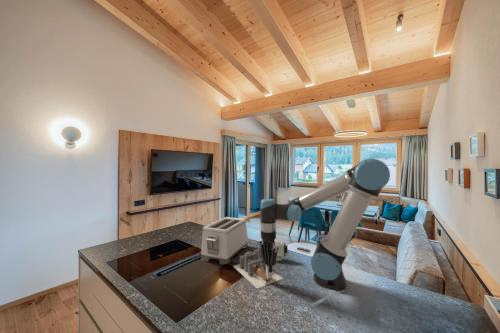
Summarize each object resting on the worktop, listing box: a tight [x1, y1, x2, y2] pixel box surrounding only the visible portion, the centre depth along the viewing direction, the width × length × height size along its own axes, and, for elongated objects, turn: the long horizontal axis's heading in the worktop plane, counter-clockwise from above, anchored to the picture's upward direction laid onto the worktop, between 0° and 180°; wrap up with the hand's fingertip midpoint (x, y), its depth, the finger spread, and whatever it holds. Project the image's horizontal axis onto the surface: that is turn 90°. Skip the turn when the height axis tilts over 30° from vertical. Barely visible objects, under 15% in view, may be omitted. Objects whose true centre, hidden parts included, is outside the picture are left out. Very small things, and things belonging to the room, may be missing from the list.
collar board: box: [232, 248, 284, 289], centre depth 113 cm, size 26×16×11 cm, turn 31°
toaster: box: [200, 216, 249, 265], centre depth 140 cm, size 19×34×21 cm, turn 157°
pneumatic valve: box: [275, 241, 289, 262], centre depth 127 cm, size 6×12×12 cm, turn 78°
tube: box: [247, 259, 271, 282], centre depth 111 cm, size 18×4×4 cm, turn 31°
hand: (269, 277), depth 103 cm, fingers closed
